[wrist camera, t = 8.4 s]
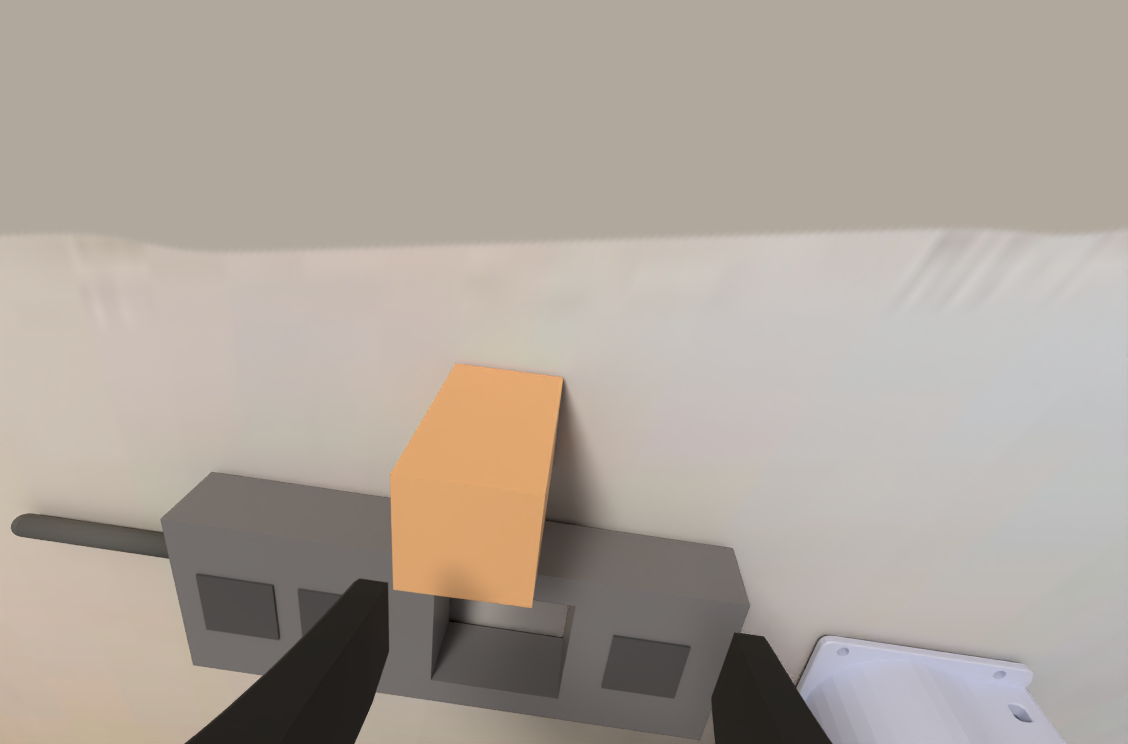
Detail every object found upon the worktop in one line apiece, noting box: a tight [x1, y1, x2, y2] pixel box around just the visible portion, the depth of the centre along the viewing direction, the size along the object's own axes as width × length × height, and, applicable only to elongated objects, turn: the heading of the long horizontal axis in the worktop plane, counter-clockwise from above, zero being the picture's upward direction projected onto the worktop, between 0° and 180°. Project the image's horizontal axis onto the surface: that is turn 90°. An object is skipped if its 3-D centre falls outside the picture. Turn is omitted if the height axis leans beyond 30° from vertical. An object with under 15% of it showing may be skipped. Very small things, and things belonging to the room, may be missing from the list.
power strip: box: [11, 472, 750, 740], centre depth 24 cm, size 31×8×3 cm, turn 83°
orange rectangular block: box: [390, 364, 563, 608], centre depth 18 cm, size 4×4×7 cm
